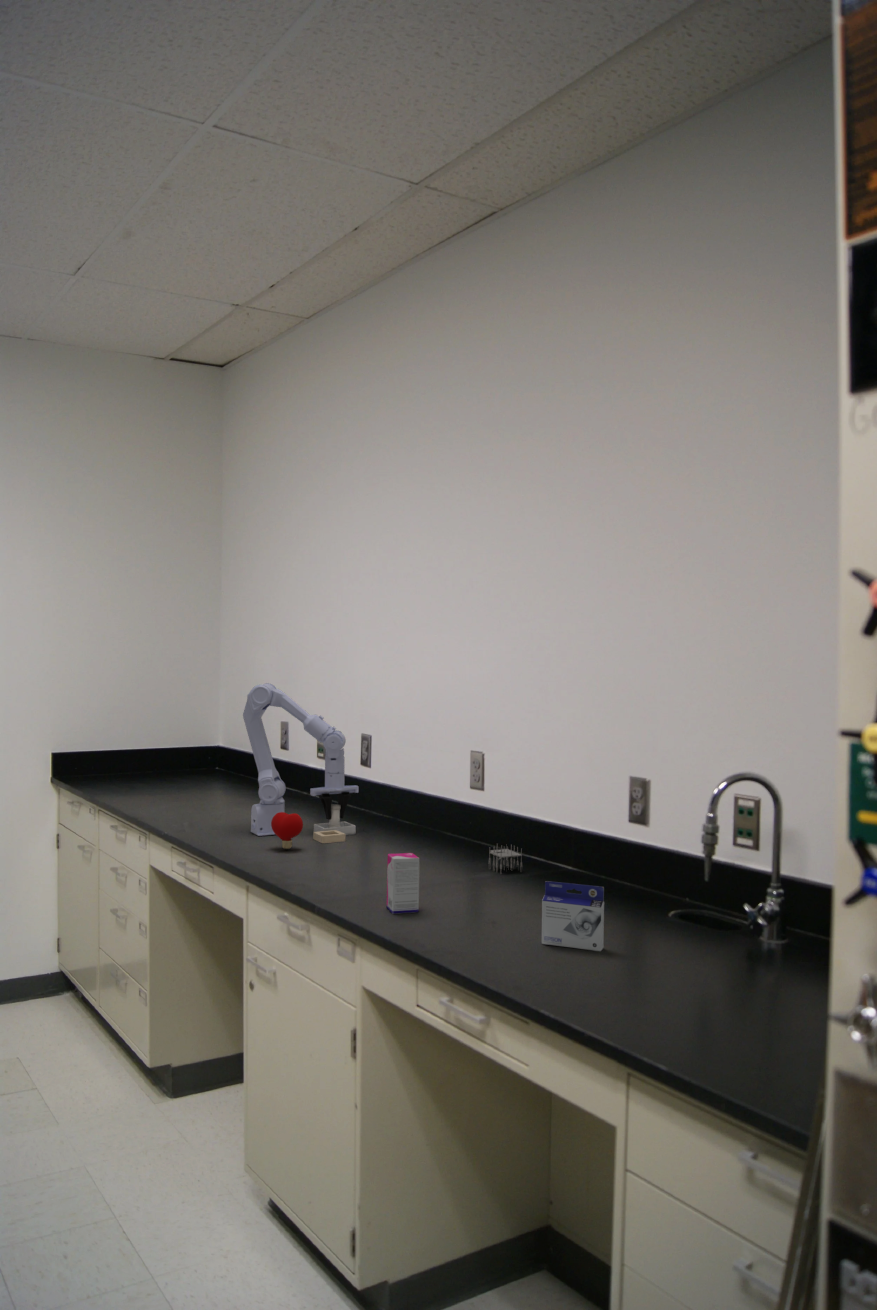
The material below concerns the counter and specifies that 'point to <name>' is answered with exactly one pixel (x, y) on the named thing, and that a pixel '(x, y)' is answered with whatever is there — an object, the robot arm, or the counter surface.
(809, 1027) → the counter surface
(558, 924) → the ink box
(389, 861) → the supplement box
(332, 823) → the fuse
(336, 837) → the socket block
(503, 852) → the building frame
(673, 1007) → the counter surface
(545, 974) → the counter surface
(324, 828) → the tray
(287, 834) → the red heart figure
